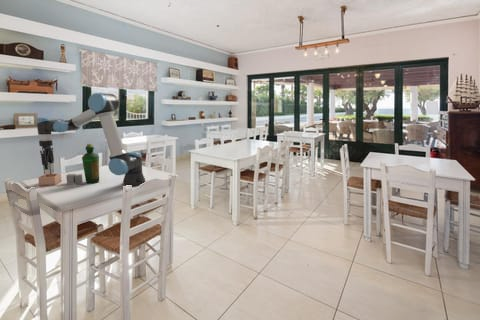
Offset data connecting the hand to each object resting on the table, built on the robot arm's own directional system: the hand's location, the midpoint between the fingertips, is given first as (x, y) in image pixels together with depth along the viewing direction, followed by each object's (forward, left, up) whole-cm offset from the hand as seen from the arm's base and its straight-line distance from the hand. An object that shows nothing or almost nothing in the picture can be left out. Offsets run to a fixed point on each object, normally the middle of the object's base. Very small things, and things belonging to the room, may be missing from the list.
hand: (49, 172), depth 191 cm
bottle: (-27, -5, -8) cm, 29 cm away
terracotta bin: (0, 0, -8) cm, 8 cm away
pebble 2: (-19, -3, -8) cm, 20 cm away
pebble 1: (0, 0, 0) cm, 0 cm away
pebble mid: (-14, -2, -8) cm, 16 cm away
